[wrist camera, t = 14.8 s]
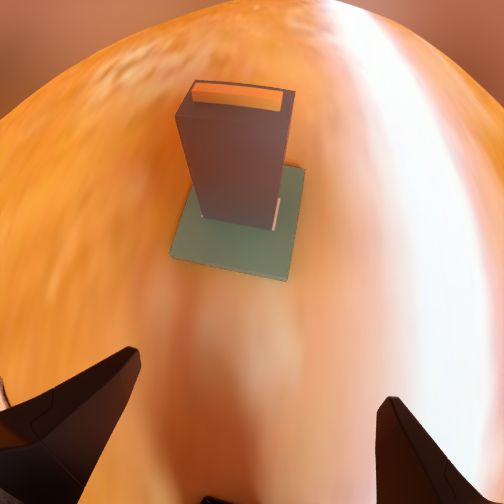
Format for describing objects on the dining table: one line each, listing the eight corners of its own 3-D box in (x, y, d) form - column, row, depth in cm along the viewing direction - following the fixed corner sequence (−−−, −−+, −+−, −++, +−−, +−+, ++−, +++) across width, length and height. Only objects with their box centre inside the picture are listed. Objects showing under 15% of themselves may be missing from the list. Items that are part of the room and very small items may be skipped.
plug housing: (271, 230, 25) (289, 118, 13) (203, 217, 25) (171, 105, 13) (278, 196, 26) (297, 80, 14) (213, 185, 26) (193, 69, 14)
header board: (286, 281, 24) (292, 266, 21) (172, 257, 25) (159, 239, 21) (303, 175, 28) (310, 149, 25) (206, 158, 29) (201, 132, 25)
